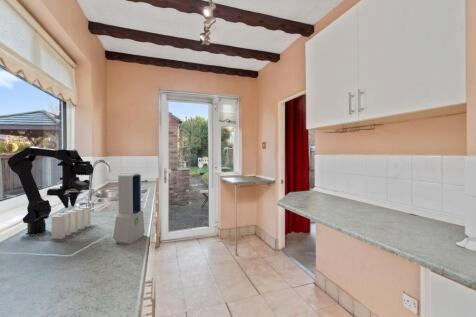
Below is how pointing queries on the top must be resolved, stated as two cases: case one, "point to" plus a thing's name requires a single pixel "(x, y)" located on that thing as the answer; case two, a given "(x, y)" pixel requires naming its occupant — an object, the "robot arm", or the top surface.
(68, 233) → the domino
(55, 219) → the domino
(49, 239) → the rubber mat
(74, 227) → the domino
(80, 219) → the domino
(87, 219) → the domino
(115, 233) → the electronic device
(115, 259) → the top surface
